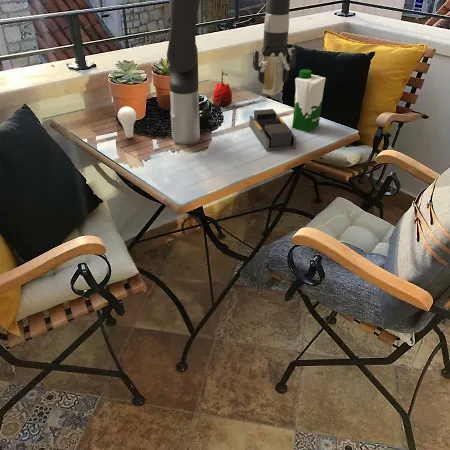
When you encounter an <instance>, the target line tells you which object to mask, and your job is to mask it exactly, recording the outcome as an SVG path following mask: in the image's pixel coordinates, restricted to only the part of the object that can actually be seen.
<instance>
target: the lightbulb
mask: <svg viewBox="0 0 450 450" xmlns="http://www.w3.org/2000/svg"><path fill="white" fill-rule="evenodd" d="M117 119H118V121H119V122H120V124H121V125H122V127H123V131H124V132H125V138H128V139H131V138H133V136H134V124H135V122H136V121H137V112H136V110H134V109H133V108H132V107H130V106H123V107H121V108H120V109H119V111H118V113H117Z"/></svg>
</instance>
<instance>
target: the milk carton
mask: <svg viewBox="0 0 450 450" xmlns="http://www.w3.org/2000/svg"><path fill="white" fill-rule="evenodd" d="M312 73H313V72H312V70H311V69H307V68H302V69H300V70H299V74H298V75H299V76H297V77H296V78H294V80H295V81H294V84H295V94H294V108H293V117H292V125H291V128H292V129H294V130H297V131H302V132H304V133H312V132H313V131H315V130H316V129H317V128H319V126H320V120H321V111H322V103H323V96H324V88H325V83H326V77H325V76H324V77H323V76H320V75H315V74H312Z"/></svg>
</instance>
